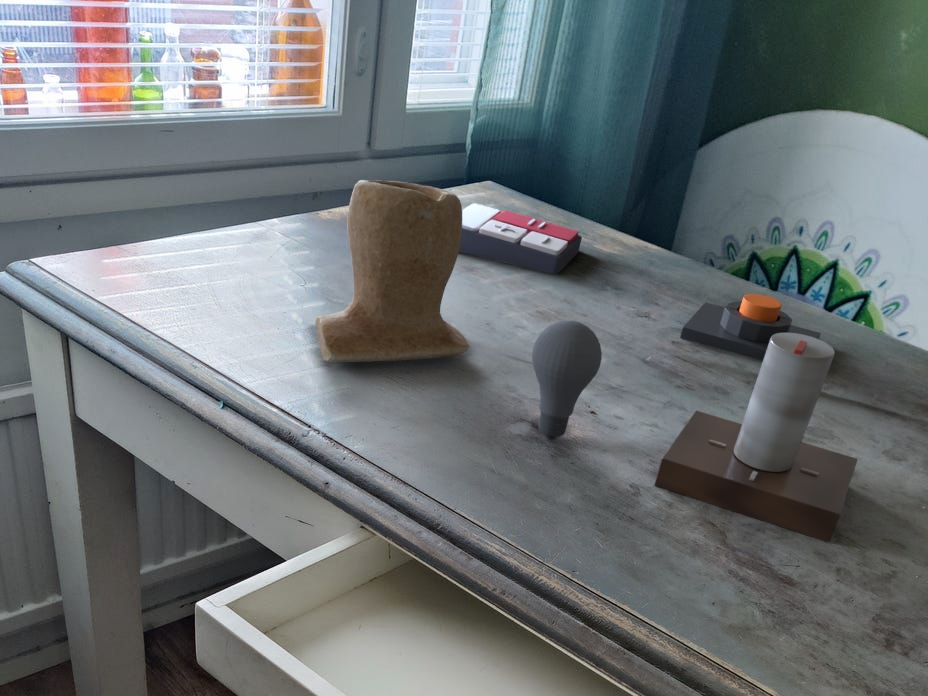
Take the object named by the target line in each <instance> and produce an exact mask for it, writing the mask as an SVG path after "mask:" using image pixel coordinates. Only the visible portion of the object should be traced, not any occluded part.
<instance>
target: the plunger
mask: <svg viewBox="0 0 928 696" xmlns="http://www.w3.org/2000/svg"><path fill="white" fill-rule="evenodd" d="M741 301H742V303H741V306H740V310H739V313H740V314H741V315H743V316H746V317H748V318H750V319H754V320H758V321H765V322H776V321H777V318H778V315H779V312H780V311H781V309H782V302H781V301H779V300H778V299H776V298H774V297H771V296H768V295H765V294H758V293H748V294H745V295H743V297H742V300H741Z"/></svg>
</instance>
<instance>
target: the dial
mask: <svg viewBox="0 0 928 696" xmlns="http://www.w3.org/2000/svg"><path fill="white" fill-rule="evenodd" d="M835 354H836V352H835V349H834V348H833V346H831V345H830V344H828V343H827V342H825V341H823V340H821V339H820V338H819V339H816V338H813V337H810V336H807V335H802V334H797V333H777V334H774V335H773V336H772V337H771V338H770V341H769V344H768V347H767V350H766V353H765V356H764V359H763V361H761V362H762V363H761V366H760V369H759V372H758V375H757V378H756V381H755V384H754V387H753V389H752V393H751V396H750V399H749V401H748V404H747V407H746V411H745V414H744V416H743V420H742V423H741V424H742V426H741V429H740V432H739V435H738V438H737V441H736V444H735V447H734V454H735V456H736V457H737V458H738V459H739V460H740V461H742V462H743V463H745V464H747V465H749V466H751V467H753V468H756V469H760V470H764V471H770V472H783V471H786V470H789V469H790V468H791V467H792V466H793V463H794V461H795V458H796V455H797V453H798V450H799V447H800V445H801V442H803V439H804V436H805V434H806V432H807V428H808V426H809V423H810V421H811V418H812V416H813V413H814V410H815V408H816V404H817V402H818V400H819V397H820V394H821V392H822V388H823V386H824V384H825V380H826V379H827V375H828V373H829V370H830V368H831V365H832V362H833V361H834V360H833V359H834V356H835Z"/></svg>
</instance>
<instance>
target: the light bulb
mask: <svg viewBox="0 0 928 696" xmlns="http://www.w3.org/2000/svg"><path fill="white" fill-rule="evenodd" d="M531 354H532V355H531V356H532V357H531V359H532V367H533V371H534V373H535V375H536V379H537V383H538V386H539V404H538V407H539V411H540V413H539V419H538V420H539V421H538V430H539V432H540V433H541V434H542V435H543V436H545V438H547V439H549V440H554V439H555V440H556V438H559V437H563V435H564V434H565V433H566V430H567V427H568V424H569V419H570V417H571V416H572V415H573V413H574V409H575V405H576V403H577V401H578V399H579V397H580V395H581V394H582V392H583V391H584V390H585V389H586V388H587V387H588V386H589V384H590V383H591V382H592V381H593V379H594V378H595V377H596V375H597V374H598V372H599V369H600V367H601V362H602V358H603V357H602V355H603V353H602V348H601V343H600V340H599V338H598V337H597V334H596V333H595V332H594V331H593V329H591V328H590V327H589V326H588V325H586V324H584V323H583V322H580V321H577V320H571V319H565V320H559V321H556V322H554V323H551V324H550V325H548V326H547V327H546V328H544V329H543V330H542V331H541V332H540V333H539V335H538V337H537V338H536V340H535V342H534V345H533V346H532V353H531Z"/></svg>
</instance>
